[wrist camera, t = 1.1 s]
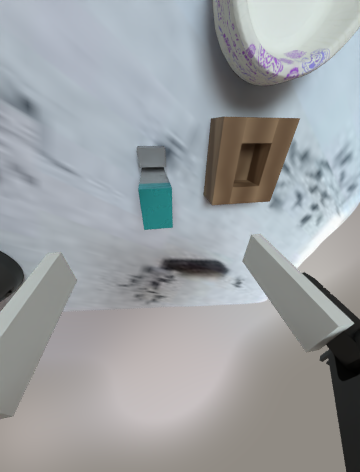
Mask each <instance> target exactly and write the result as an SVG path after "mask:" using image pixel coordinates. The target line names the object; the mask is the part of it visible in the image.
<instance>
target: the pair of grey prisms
mask: <svg viewBox="0 0 360 472" xmlns="http://www.w3.org/2000/svg"><path fill="white" fill-rule="evenodd" d="M137 155H138V163H139V167H166V158H165V147H164V146H138V147H137Z"/></svg>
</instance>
